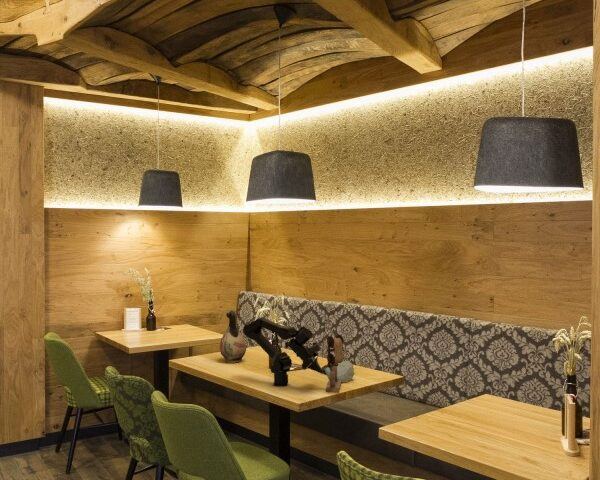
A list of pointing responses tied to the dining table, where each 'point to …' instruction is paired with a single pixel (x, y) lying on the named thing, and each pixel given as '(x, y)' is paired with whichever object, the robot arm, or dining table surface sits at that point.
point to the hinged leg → (327, 372)
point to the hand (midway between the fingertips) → (322, 372)
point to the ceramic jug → (232, 341)
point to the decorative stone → (345, 371)
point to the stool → (333, 381)
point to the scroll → (338, 349)
